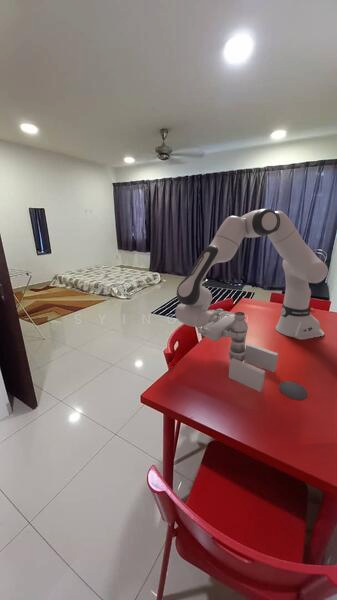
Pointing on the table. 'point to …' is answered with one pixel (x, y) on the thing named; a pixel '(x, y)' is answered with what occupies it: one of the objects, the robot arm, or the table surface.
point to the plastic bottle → (238, 337)
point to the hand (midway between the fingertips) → (241, 331)
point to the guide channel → (250, 373)
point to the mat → (293, 390)
